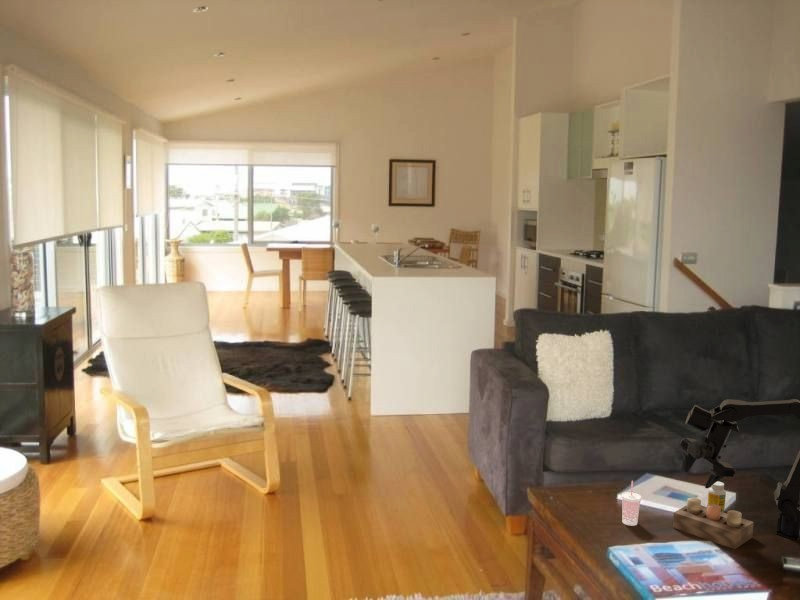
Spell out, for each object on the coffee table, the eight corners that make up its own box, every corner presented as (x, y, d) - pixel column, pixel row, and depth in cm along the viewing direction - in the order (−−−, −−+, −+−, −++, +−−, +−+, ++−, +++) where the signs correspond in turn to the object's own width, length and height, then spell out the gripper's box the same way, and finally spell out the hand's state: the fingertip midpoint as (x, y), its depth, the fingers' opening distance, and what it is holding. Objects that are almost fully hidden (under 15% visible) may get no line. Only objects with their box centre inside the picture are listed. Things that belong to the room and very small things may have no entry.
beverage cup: (640, 527, 254) (643, 485, 251) (620, 525, 255) (623, 483, 253) (638, 519, 260) (641, 478, 257) (619, 517, 261) (621, 476, 259)
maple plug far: (702, 515, 255) (703, 500, 254) (696, 518, 252) (697, 503, 251) (690, 511, 258) (691, 496, 257) (684, 514, 255) (685, 500, 254)
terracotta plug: (722, 522, 250) (723, 506, 249) (716, 525, 247) (717, 510, 247) (709, 517, 253) (710, 502, 252) (703, 521, 250) (704, 506, 250)
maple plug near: (742, 528, 245) (743, 513, 245) (736, 532, 243) (738, 516, 242) (729, 524, 248) (731, 509, 248) (723, 528, 246) (725, 512, 245)
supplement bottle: (711, 506, 271) (713, 479, 270) (727, 511, 267) (729, 483, 266) (704, 510, 267) (706, 483, 266) (719, 515, 264) (722, 487, 262)
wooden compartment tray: (752, 537, 248) (753, 522, 247) (734, 549, 240) (736, 533, 239) (691, 516, 262) (692, 502, 261) (672, 527, 254) (673, 512, 253)
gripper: (678, 420, 257) (658, 462, 261) (721, 450, 241) (699, 495, 245) (702, 423, 262) (682, 464, 266) (745, 453, 247) (723, 497, 250)
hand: (696, 479), depth 257 cm, fingers open, 9 cm apart
